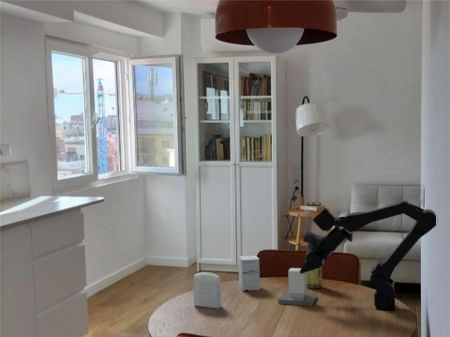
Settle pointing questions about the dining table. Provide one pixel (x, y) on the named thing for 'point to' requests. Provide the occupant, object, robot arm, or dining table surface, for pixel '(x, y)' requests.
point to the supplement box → (249, 273)
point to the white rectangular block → (297, 283)
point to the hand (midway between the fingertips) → (302, 269)
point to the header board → (295, 301)
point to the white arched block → (207, 290)
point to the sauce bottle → (313, 275)
